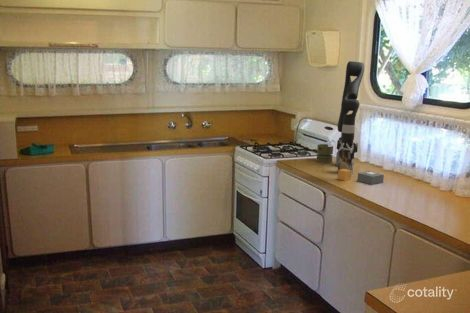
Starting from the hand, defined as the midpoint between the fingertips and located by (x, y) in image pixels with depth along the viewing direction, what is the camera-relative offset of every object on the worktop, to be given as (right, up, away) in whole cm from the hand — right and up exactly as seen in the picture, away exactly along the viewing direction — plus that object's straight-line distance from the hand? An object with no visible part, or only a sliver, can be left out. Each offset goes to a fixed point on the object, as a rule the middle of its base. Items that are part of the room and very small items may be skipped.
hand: (346, 157), depth 299 cm
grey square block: (+15, -15, 0) cm, 21 cm away
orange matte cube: (-1, -14, +3) cm, 14 cm away
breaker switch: (+15, -12, -1) cm, 19 cm away
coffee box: (+4, -10, +20) cm, 23 cm away
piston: (-3, -3, +55) cm, 55 cm away
